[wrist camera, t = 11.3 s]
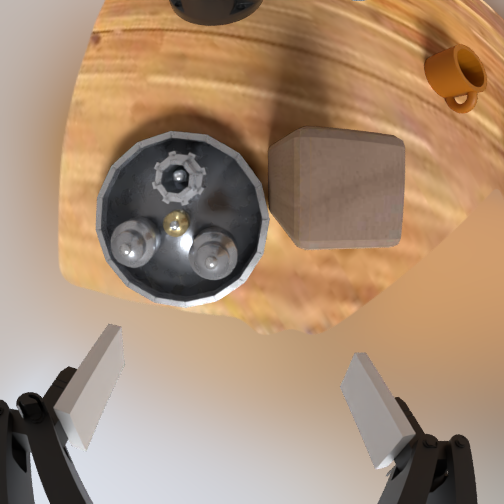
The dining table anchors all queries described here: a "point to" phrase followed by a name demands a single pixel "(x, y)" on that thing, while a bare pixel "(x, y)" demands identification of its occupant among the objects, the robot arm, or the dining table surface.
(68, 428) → the robot arm
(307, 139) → the wooden block
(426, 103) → the dining table surface
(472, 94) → the mug
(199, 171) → the gear
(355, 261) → the dining table surface
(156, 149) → the carrier
